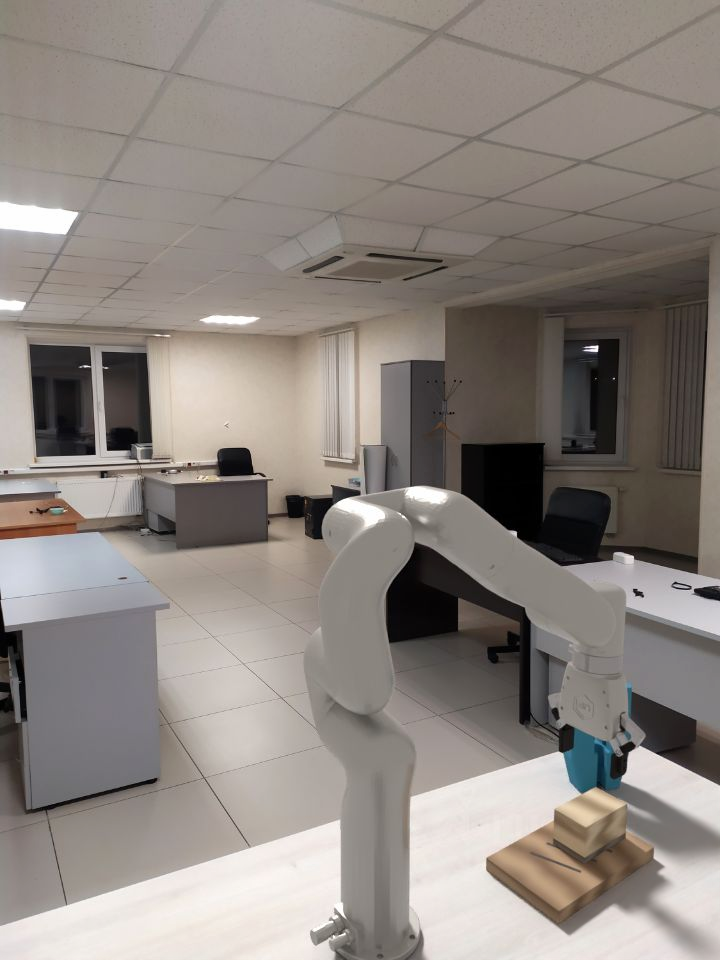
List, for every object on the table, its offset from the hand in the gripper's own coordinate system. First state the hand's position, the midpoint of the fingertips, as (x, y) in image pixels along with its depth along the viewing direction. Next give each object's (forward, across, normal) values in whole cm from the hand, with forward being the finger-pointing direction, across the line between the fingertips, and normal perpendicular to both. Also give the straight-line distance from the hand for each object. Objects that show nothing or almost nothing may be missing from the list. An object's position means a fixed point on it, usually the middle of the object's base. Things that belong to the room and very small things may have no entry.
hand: (590, 762), depth 110 cm
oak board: (+16, 0, -4) cm, 16 cm away
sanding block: (+14, 0, +1) cm, 14 cm away
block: (+15, -12, +19) cm, 27 cm away
